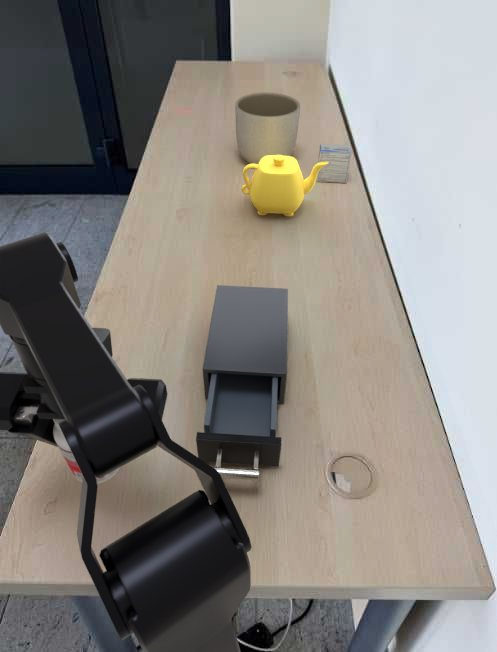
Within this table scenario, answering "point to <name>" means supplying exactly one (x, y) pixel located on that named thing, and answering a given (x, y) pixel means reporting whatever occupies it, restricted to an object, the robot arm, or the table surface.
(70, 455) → the pill bottle
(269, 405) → the drawer
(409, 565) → the table surface
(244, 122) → the planter
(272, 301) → the cabinet
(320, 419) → the table surface
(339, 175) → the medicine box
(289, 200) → the teapot
